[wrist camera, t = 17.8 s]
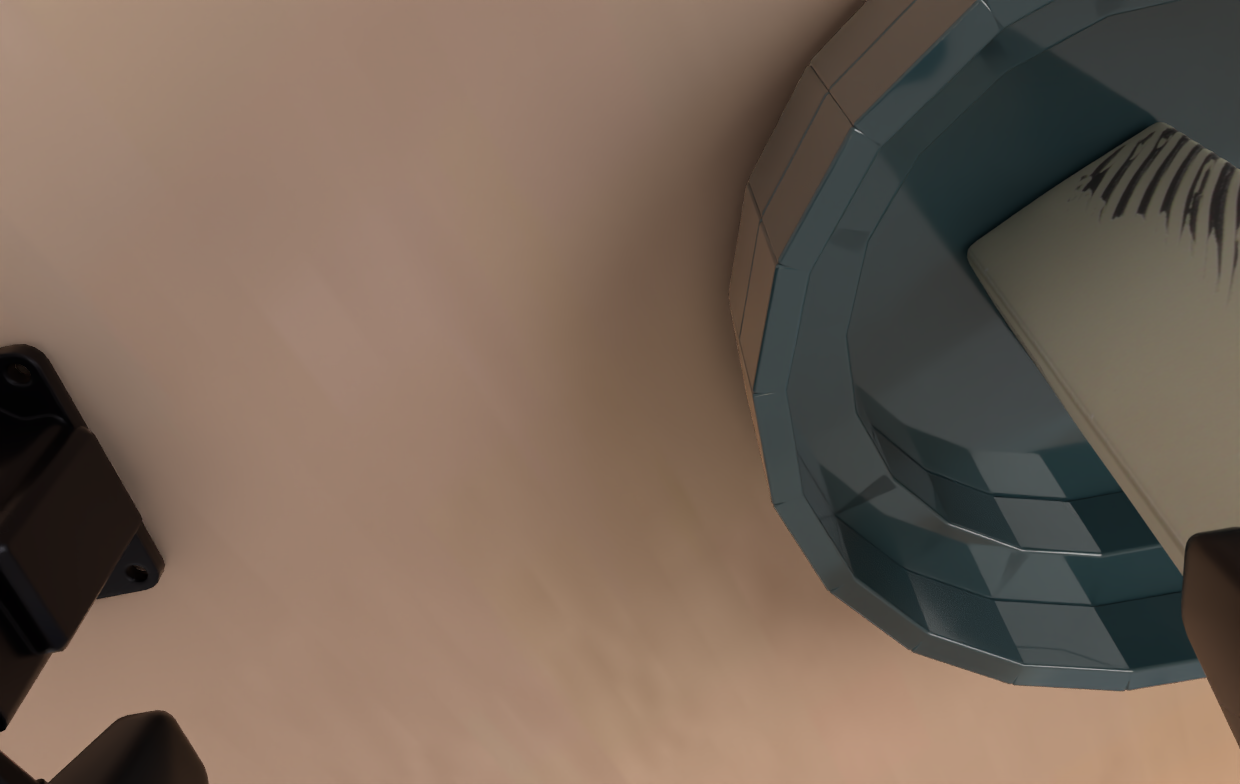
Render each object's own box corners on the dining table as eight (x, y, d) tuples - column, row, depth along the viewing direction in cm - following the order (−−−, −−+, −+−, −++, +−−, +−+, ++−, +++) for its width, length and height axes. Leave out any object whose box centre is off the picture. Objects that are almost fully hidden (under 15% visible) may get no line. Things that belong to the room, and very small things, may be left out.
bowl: (784, 599, 26) (816, 743, 22) (663, -41, 18) (680, 10, 15) (1427, 484, 25) (1581, 617, 21) (1584, -262, 17) (1873, -271, 13)
